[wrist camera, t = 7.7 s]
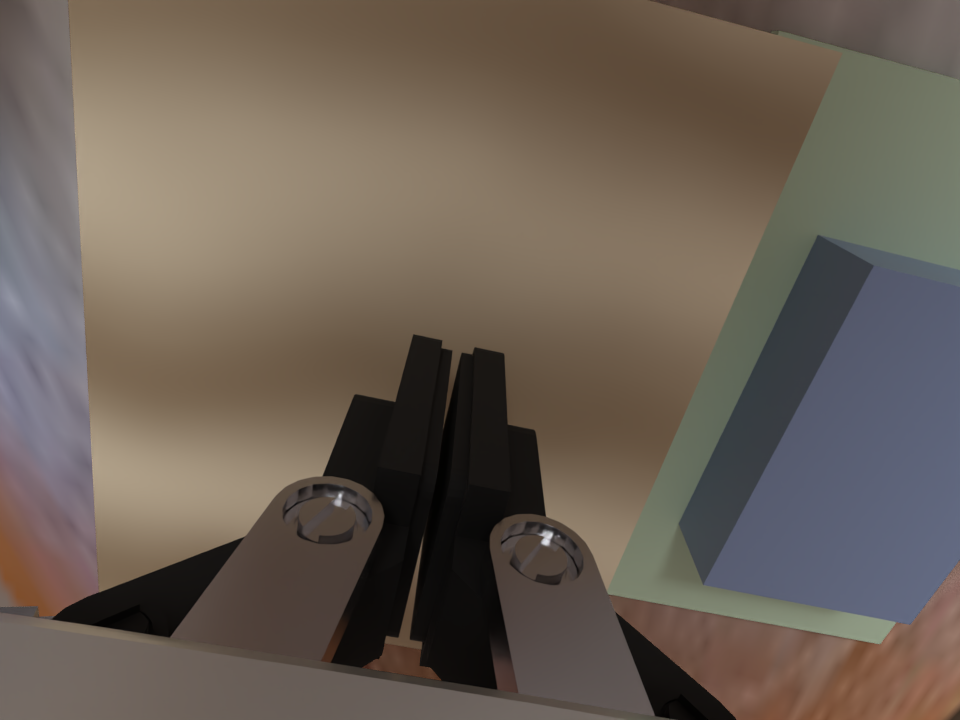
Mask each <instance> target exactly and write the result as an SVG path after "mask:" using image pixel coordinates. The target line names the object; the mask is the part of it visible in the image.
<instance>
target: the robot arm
mask: <svg viewBox="0 0 960 720" xmlns="http://www.w3.org/2000/svg"><path fill="white" fill-rule="evenodd" d="M442 341H443V340H439V339H434V338H429V337H425V336H420V335H415V334H413V337H412V341H411V344H410V348H409V352H408V356H407V359H406V363H405V367H404V371H403V374H402V378H401V382H400V386H399V389H398V393H397V397H396V401H395V402H394V401H389V400H384V399H379V398H374V397H369V396H364V395H359V394H355V395H354V397H353V399H352V402H351V404H350V407H349V409H348V412H347V414H346V417H345V419H344V422H343V425H342V427H341V430H340V432H339V435H338V437H337V440H336V443H335V445H334V448H333V450H332V453H331V455H330V458H329V460H328V463H327V466H326V468H325V471H324V473H323V476H321V477H311V478H306V479H302V480H298V481H296V482H294V483H292V484H290V485H288V486H286V487H285V488H284V489H282V490H281V491H280V492H279V493H278V494H277V495H276V496H275V497H274V498H273V500H272V501H271V503H270V504H269V505H268V507H267V508H266V509H265V511H264V512H263V513H262V515H261V516H260V517H259V519H258V520H257V521H256V523H255V524H254V525H253V527H252V528H251V529H250V531H249V532H248V533H247V535H246V536H245V537H242V538H240V539H237V540H234V541H232V542H229V543H227V544H224V545H221V546H219V547H216V548H214V549H211V550H208V551H206V552H203V553H200V554H198V555H195V556H193V557H190V558H187V559H185V560H182V561H180V562H177V563H174V564H172V565H169V566H167V567H164V568H161V569H159V570H156V571H154V572H151V573H148V574H146V575H143V576H141V577H138V578H135V579H133V580H130V581H128V582H125V583H122V584H120V585H117V586H114V587H112V588H109V589H107V590H104V591H101V592H99V593H96V594H94V595H91V596H88V597H86V598H84V599H82V600H80V601H78V602H76V603H74V604H72V605H70V606H68V607H66V608H65V609H63V610H62V611H61V612H60V613H58V614H57V615H56V616H49V617H39V612H38V606H34V607H0V720H736V718H735V717H734V716H733V715H732V714H731V713H730V712H729V711H728V710H727V709H726V708H725V707H724V706H723V705H722V704H721V703H720V702H719V701H718V700H717V699H716V698H715V697H714V696H712V695H711V694H710V693H709V692H708V691H707V690H705V689H704V688H703V687H702V686H701V685H700V684H698V683H697V682H696V681H695V680H694V679H693V678H691V677H690V676H689V675H688V674H687V673H686V672H685V671H683V670H682V669H681V668H680V667H679V666H678V665H676V664H675V663H674V662H673V661H672V660H671V659H669V658H668V657H667V656H666V655H665V654H664V653H662V652H661V651H660V650H659V649H658V648H657V647H655V646H654V645H653V644H652V643H651V642H650V641H648V640H647V639H646V638H645V637H644V636H643V635H642V634H640V633H639V632H638V631H637V630H636V629H635V628H633V627H632V626H631V625H630V624H629V623H628V622H626V621H625V620H624V619H623V618H622V617H621V616H619V615H618V614H617V613H616V612H615V611H614V608H613V606H612V603H611V601H610V598H609V595H608V593H607V590H606V588H605V585H604V582H603V580H602V577H601V575H600V572H599V569H598V567H597V564H596V562H595V559H594V557H593V554H592V553H591V551H590V549H589V547H588V546H587V544H586V542H585V541H584V540H583V539H582V538H581V537H580V536H579V535H578V534H577V533H576V532H575V531H573V530H572V529H570V528H569V527H567V526H565V525H564V524H562V523H560V522H558V521H556V520H553V519H551V518H548V517H546V512H545V504H544V495H543V487H542V478H541V470H540V462H539V453H538V445H537V436H536V432H535V430H533V429H528V428H523V427H518V426H513V425H508V419H507V398H506V377H505V355H504V353H501V352H496V351H491V350H486V349H482V348H477V347H475V348H474V350H473V354H467V353H461V356H460V360H459V365H458V369H457V373H456V377H455V381H454V386H453V390H452V394H451V398H450V402H449V407H448V411H447V415H446V419H445V424H444V417H445V409H446V401H447V393H448V385H449V376H450V368H451V360H452V352H453V350H448V349H443V348H441V347H442ZM443 425H444V428H443ZM422 539H423V542H422ZM421 543H422V550H421V557H420V564H419V572H418V579H417V586H416V594H415V601H414V608H413V616H412V623H411V630H410V640H413V641H419V642H422V649H421V657H420V666H425V667H431V668H432V669H433V671H434V672H435V673H436V674H437V675H438V676H439V678H440V679H441V680H442V681H439V680H433V679H427V678H421V677H415V676H408V675H402V674H396V673H390V672H384V671H377V670H371V669H365V668H362V667H363V666H365V665H367V664H368V663H370V662H372V661H373V660H375V659H379V657H380V656H381V655H382V652H383V648H384V643H385V639H386V636H389V637H395V638H398V637H399V634H400V630H401V626H402V622H403V617H404V613H405V609H406V605H407V601H408V597H409V593H410V589H411V584H412V580H413V576H414V572H415V568H416V564H417V560H418V555H419V551H420V547H421Z"/></svg>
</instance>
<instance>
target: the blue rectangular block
mask: <svg viewBox="0 0 960 720" xmlns="http://www.w3.org/2000/svg"><path fill="white" fill-rule="evenodd" d="M679 526H680V529H681V531H682V534H683V536H684V539H685V541H686V544H687V546H688V549H689V551H690V554H691V556H692V558H693V561H694V563H695V566H696V568H697V571H698V573H699V576H700V578H701V581H702V583H703V585H706V586H711V587H716V588H721V589H726V590H732V591H737V592H742V593H747V594H753V595H758V596H763V597H768V598H773V599H779V600H784V601H789V602H794V603H800V604H805V605H810V606H815V607H820V608H826V609H831V610H836V611H841V612H847V613H852V614H857V615H862V616H867V617H873V618H878V619H883V620H888V621H893V622H899V623H904V624H909V625H910V624H911V623H912V622H913V620H914V619H915V618H916V617H917V615H918V614H919V613H920V611H921V610H922V609H923V607H924V606H925V605H926V603H927V602H928V601H929V599H930V598H931V597H932V596H933V594H934V593H935V592H936V590H937V589H938V588H939V586H940V585H941V584H942V582H943V581H944V580H945V578H946V577H947V576H948V575H949V573H950V572H951V571H952V569H953V568H954V567H955V565H956V564H957V563H958V561H959V560H960V270H958V269H954V268H950V267H945V266H941V265H937V264H933V263H929V262H925V261H921V260H917V259H913V258H909V257H905V256H901V255H897V254H893V253H889V252H885V251H881V250H877V249H873V248H869V247H865V246H861V245H857V244H853V243H849V242H845V241H841V240H837V239H833V238H829V237H825V236H821V235H818V236H817V238H816V240H815V242H814V244H813V246H812V248H811V250H810V252H809V254H808V256H807V259H806V261H805V263H804V265H803V267H802V269H801V271H800V273H799V275H798V277H797V279H796V281H795V283H794V286H793V288H792V290H791V292H790V294H789V296H788V298H787V300H786V302H785V304H784V306H783V308H782V310H781V312H780V315H779V317H778V319H777V321H776V323H775V325H774V327H773V329H772V331H771V333H770V335H769V337H768V339H767V341H766V344H765V346H764V348H763V350H762V352H761V354H760V356H759V358H758V360H757V362H756V364H755V366H754V368H753V370H752V373H751V375H750V377H749V379H748V381H747V383H746V385H745V387H744V389H743V391H742V393H741V395H740V397H739V399H738V402H737V404H736V406H735V408H734V410H733V412H732V414H731V416H730V418H729V420H728V422H727V424H726V426H725V428H724V431H723V433H722V435H721V437H720V439H719V441H718V443H717V445H716V447H715V449H714V451H713V453H712V455H711V458H710V460H709V462H708V464H707V466H706V468H705V470H704V472H703V474H702V476H701V478H700V480H699V482H698V484H697V487H696V489H695V491H694V493H693V495H692V497H691V499H690V501H689V503H688V505H687V507H686V509H685V511H684V513H683V516H682V518H681V520H680V522H679Z"/></svg>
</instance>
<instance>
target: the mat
mask: <svg viewBox="0 0 960 720" xmlns="http://www.w3.org/2000/svg"><path fill="white" fill-rule="evenodd" d="M771 34H775V35H779V36H782V37H786V38H790V39H793V40H797V41H801V42H805V43H808V44H812V45H816V46H819V47H823V48H827V49H830V50H834V51H838V52H841V53H842V56H841V58H840V60H839V62H838V65H837V67H836V69H835V72H834V74H833V76H832V78H831V81H830V83H829V85H828V88H827V90H826V92H825V94H824V97H823V99H822V101H821V104H820V106H819V108H818V110H817V113H816V115H815V117H814V120H813V122H812V124H811V126H810V129H809V131H808V133H807V136H806V138H805V140H804V142H803V145H802V147H801V149H800V152H799V154H798V156H797V158H796V161H795V163H794V165H793V167H792V170H791V172H790V174H789V177H788V179H787V181H786V183H785V186H784V188H783V190H782V193H781V195H780V197H779V199H778V202H777V204H776V206H775V209H774V211H773V213H772V215H771V218H770V220H769V222H768V225H767V227H766V229H765V231H764V234H763V236H762V238H761V241H760V243H759V245H758V247H757V250H756V252H755V254H754V257H753V259H752V261H751V263H750V266H749V268H748V270H747V273H746V275H745V277H744V279H743V282H742V284H741V286H740V289H739V291H738V293H737V295H736V298H735V300H734V302H733V305H732V307H731V309H730V311H729V314H728V316H727V318H726V320H725V323H724V325H723V327H722V330H721V332H720V334H719V336H718V339H717V341H716V343H715V346H714V348H713V350H712V352H711V355H710V357H709V359H708V362H707V364H706V366H705V368H704V371H703V373H702V375H701V378H700V380H699V382H698V384H697V387H696V389H695V391H694V394H693V396H692V398H691V400H690V403H689V405H688V407H687V410H686V412H685V414H684V416H683V419H682V421H681V423H680V426H679V428H678V430H677V432H676V435H675V437H674V439H673V442H672V444H671V446H670V448H669V451H668V453H667V455H666V457H665V460H664V462H663V464H662V467H661V469H660V471H659V473H658V476H657V478H656V480H655V483H654V485H653V487H652V489H651V492H650V494H649V496H648V499H647V501H646V503H645V505H644V508H643V510H642V512H641V515H640V517H639V519H638V521H637V524H636V526H635V528H634V531H633V533H632V535H631V537H630V540H629V542H628V544H627V547H626V549H625V551H624V553H623V556H622V558H621V560H620V563H619V565H618V567H617V569H616V572H615V574H614V576H613V579H612V581H611V583H610V585H609V588H608V590H607V593H608V594H609V595H615V596H620V597H626V598H631V599H636V600H642V601H647V602H653V603H658V604H664V605H669V606H675V607H680V608H685V609H691V610H696V611H702V612H707V613H713V614H718V615H724V616H729V617H735V618H740V619H745V620H751V621H756V622H762V623H767V624H773V625H778V626H784V627H789V628H794V629H800V630H805V631H811V632H816V633H822V634H827V635H833V636H838V637H843V638H849V639H854V640H860V641H865V642H871V643H876V644H881V642H882V641H883V640H884V638H885V637H886V636H887V634H888V633H889V632H890V630H891V629H892V627H893V626H894V625H895V623H896V622H893V621H888V620H883V619H878V618H873V617H867V616H862V615H857V614H852V613H847V612H841V611H836V610H831V609H826V608H820V607H815V606H810V605H805V604H800V603H794V602H789V601H784V600H779V599H773V598H768V597H763V596H758V595H753V594H747V593H742V592H737V591H732V590H726V589H721V588H716V587H711V586H706V585H703V583H702V581H701V578H700V576H699V573H698V571H697V568H696V566H695V563H694V561H693V558H692V556H691V554H690V551H689V549H688V546H687V544H686V541H685V539H684V536H683V534H682V531H681V529H680V526H679V522H680V520H681V518H682V516H683V513H684V511H685V509H686V507H687V505H688V503H689V501H690V499H691V497H692V495H693V493H694V491H695V489H696V487H697V484H698V482H699V480H700V478H701V476H702V474H703V472H704V470H705V468H706V466H707V464H708V462H709V460H710V458H711V455H712V453H713V451H714V449H715V447H716V445H717V443H718V441H719V439H720V437H721V435H722V433H723V431H724V428H725V426H726V424H727V422H728V420H729V418H730V416H731V414H732V412H733V410H734V408H735V406H736V404H737V402H738V399H739V397H740V395H741V393H742V391H743V389H744V387H745V385H746V383H747V381H748V379H749V377H750V375H751V373H752V370H753V368H754V366H755V364H756V362H757V360H758V358H759V356H760V354H761V352H762V350H763V348H764V346H765V344H766V341H767V339H768V337H769V335H770V333H771V331H772V329H773V327H774V325H775V323H776V321H777V319H778V317H779V315H780V312H781V310H782V308H783V306H784V304H785V302H786V300H787V298H788V296H789V294H790V292H791V290H792V288H793V286H794V283H795V281H796V279H797V277H798V275H799V273H800V271H801V269H802V267H803V265H804V263H805V261H806V259H807V256H808V254H809V252H810V250H811V248H812V246H813V244H814V242H815V240H816V238H817V236H818V235H821V236H825V237H829V238H833V239H837V240H841V241H845V242H849V243H853V244H857V245H861V246H865V247H869V248H873V249H877V250H881V251H885V252H889V253H893V254H897V255H901V256H905V257H909V258H913V259H917V260H921V261H925V262H929V263H933V264H937V265H941V266H945V267H950V268H954V269H958V270H960V80H959V79H955V78H952V77H948V76H944V75H941V74H937V73H933V72H930V71H926V70H922V69H919V68H915V67H911V66H908V65H904V64H900V63H897V62H893V61H889V60H886V59H882V58H878V57H875V56H871V55H867V54H864V53H860V52H856V51H853V50H849V49H845V48H842V47H838V46H834V45H831V44H827V43H823V42H820V41H816V40H812V39H809V38H805V37H801V36H798V35H794V34H790V33H787V32H783V31H771Z"/></svg>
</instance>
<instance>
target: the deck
mask: <svg viewBox="0 0 960 720" xmlns="http://www.w3.org/2000/svg"><path fill="white" fill-rule="evenodd" d="M68 9H69V28H70V47H71V66H72V85H73V105H74V124H75V143H76V162H77V181H78V201H79V220H80V239H81V258H82V277H83V296H84V316H85V335H86V354H87V373H88V392H89V412H90V431H91V450H92V469H93V488H94V507H95V527H96V546H97V565H98V584H99V592H101V591H104V590H107V589H109V588H112V587H114V586H117V585H120V584H122V583H125V582H128V581H130V580H133V579H135V578H138V577H141V576H143V575H146V574H148V573H151V572H154V571H156V570H159V569H161V568H164V567H167V566H169V565H172V564H174V563H177V562H180V561H182V560H185V559H187V558H190V557H193V556H195V555H198V554H200V553H203V552H206V551H208V550H211V549H214V548H216V547H219V546H221V545H224V544H227V543H229V542H232V541H234V540H237V539H240V538H242V537H245V536H246V535H247V533H248V532H249V531H250V529H251V528H252V527H253V525H254V524H255V523H256V521H257V520H258V519H259V517H260V516H261V515H262V513H263V512H264V511H265V509H266V508H267V507H268V505H269V504H270V503H271V501H272V500H273V498H274V497H275V496H276V495H277V494H278V493H279V492H280V491H281V490H282V489H284V488H285V487H286V486H288V485H290V484H292V483H294V482H296V481H298V480H302V479H306V478H311V477H321V476H323V473H324V471H325V468H326V466H327V463H328V460H329V458H330V455H331V453H332V450H333V448H334V445H335V443H336V440H337V437H338V435H339V432H340V430H341V427H342V425H343V422H344V419H345V417H346V414H347V412H348V409H349V407H350V404H351V402H352V399H353V397H354V395H355V394H359V395H364V396H369V397H374V398H379V399H384V400H389V401H394V402H395V401H396V397H397V393H398V389H399V386H400V382H401V378H402V374H403V371H404V367H405V363H406V359H407V356H408V352H409V348H410V344H411V341H412V337H413V334H415V335H420V336H425V337H429V338H434V339H439V340H443V341H442V347H441V348H443V349H448V350H453V352H452V360H451V368H450V376H449V385H448V393H447V401H446V409H445V417H444V424H445V419H446V415H447V411H448V407H449V402H450V398H451V394H452V390H453V386H454V381H455V377H456V373H457V369H458V365H459V360H460V356H461V353H467V354H473V350H474V348H475V347H477V348H482V349H486V350H491V351H496V352H501V353H504V355H505V377H506V398H507V419H508V425H513V426H518V427H523V428H528V429H533V430H535V432H536V436H537V445H538V453H539V462H540V470H541V478H542V487H543V495H544V504H545V512H546V517H548V518H551V519H553V520H556V521H558V522H560V523H562V524H564V525H565V526H567V527H569V528H570V529H572V530H573V531H575V532H576V533H577V534H578V535H579V536H580V537H581V538H582V539H583V540H584V541H585V542H586V544H587V546H588V547H589V549H590V551H591V553H592V554H593V557H594V559H595V562H596V564H597V567H598V569H599V572H600V575H601V577H602V580H603V582H604V585H605V588H606V590H608V588H609V585H610V583H611V581H612V579H613V576H614V574H615V572H616V569H617V567H618V565H619V563H620V560H621V558H622V556H623V553H624V551H625V549H626V547H627V544H628V542H629V540H630V537H631V535H632V533H633V531H634V528H635V526H636V524H637V521H638V519H639V517H640V515H641V512H642V510H643V508H644V505H645V503H646V501H647V499H648V496H649V494H650V492H651V489H652V487H653V485H654V483H655V480H656V478H657V476H658V473H659V471H660V469H661V467H662V464H663V462H664V460H665V457H666V455H667V453H668V451H669V448H670V446H671V444H672V442H673V439H674V437H675V435H676V432H677V430H678V428H679V426H680V423H681V421H682V419H683V416H684V414H685V412H686V410H687V407H688V405H689V403H690V400H691V398H692V396H693V394H694V391H695V389H696V387H697V384H698V382H699V380H700V378H701V375H702V373H703V371H704V368H705V366H706V364H707V362H708V359H709V357H710V355H711V352H712V350H713V348H714V346H715V343H716V341H717V339H718V336H719V334H720V332H721V330H722V327H723V325H724V323H725V320H726V318H727V316H728V314H729V311H730V309H731V307H732V305H733V302H734V300H735V298H736V295H737V293H738V291H739V289H740V286H741V284H742V282H743V279H744V277H745V275H746V273H747V270H748V268H749V266H750V263H751V261H752V259H753V257H754V254H755V252H756V250H757V247H758V245H759V243H760V241H761V238H762V236H763V234H764V231H765V229H766V227H767V225H768V222H769V220H770V218H771V215H772V213H773V211H774V209H775V206H776V204H777V202H778V199H779V197H780V195H781V193H782V190H783V188H784V186H785V183H786V181H787V179H788V177H789V174H790V172H791V170H792V167H793V165H794V163H795V161H796V158H797V156H798V154H799V152H800V149H801V147H802V145H803V142H804V140H805V138H806V136H807V133H808V131H809V129H810V126H811V124H812V122H813V120H814V117H815V115H816V113H817V110H818V108H819V106H820V104H821V101H822V99H823V97H824V94H825V92H826V90H827V88H828V85H829V83H830V81H831V78H832V76H833V74H834V72H835V69H836V67H837V65H838V62H839V60H840V58H841V56H842V53H841V52H838V51H834V50H830V49H827V48H823V47H819V46H816V45H812V44H808V43H805V42H801V41H797V40H793V39H790V38H786V37H782V36H779V35H775V34H771V33H768V32H764V31H760V30H757V29H753V28H749V27H746V26H742V25H738V24H735V23H731V22H727V21H724V20H720V19H716V18H713V17H709V16H705V15H702V14H698V13H694V12H690V11H687V10H683V9H679V8H676V7H672V6H668V5H665V4H661V3H657V2H654V1H650V0H68ZM443 428H444V425H443ZM422 542H423V539H422ZM421 550H422V543H421V547H420V551H419V555H418V560H417V564H416V568H415V572H414V576H413V580H412V584H411V589H410V593H409V597H408V601H407V605H406V609H405V613H404V617H403V622H402V626H401V630H400V634H399V637H398V638H395V637H389V636H386V639H385V644H391V645H397V646H403V647H409V648H415V649H420V650H421V649H422V642H419V641H413V640H410V630H411V623H412V616H413V608H414V601H415V594H416V586H417V579H418V572H419V564H420V557H421Z"/></svg>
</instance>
